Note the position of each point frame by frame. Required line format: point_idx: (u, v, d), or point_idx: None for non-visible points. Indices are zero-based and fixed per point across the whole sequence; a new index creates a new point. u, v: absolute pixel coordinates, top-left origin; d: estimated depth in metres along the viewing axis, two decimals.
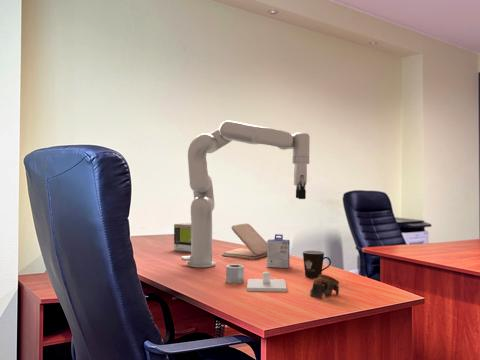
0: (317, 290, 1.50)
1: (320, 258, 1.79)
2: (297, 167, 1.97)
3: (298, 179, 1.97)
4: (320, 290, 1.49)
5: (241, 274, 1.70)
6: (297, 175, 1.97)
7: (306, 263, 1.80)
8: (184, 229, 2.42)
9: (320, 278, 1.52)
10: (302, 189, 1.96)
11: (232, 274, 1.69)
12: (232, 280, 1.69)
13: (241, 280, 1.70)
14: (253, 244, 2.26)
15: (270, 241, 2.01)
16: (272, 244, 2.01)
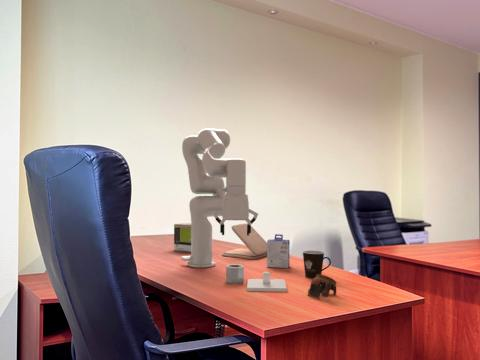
0: (315, 289, 1.50)
1: (320, 258, 1.79)
2: (247, 199, 1.70)
3: (248, 213, 1.70)
4: (318, 290, 1.49)
5: (241, 274, 1.70)
6: (248, 208, 1.70)
7: (306, 263, 1.80)
8: (184, 229, 2.42)
9: (318, 278, 1.52)
10: None
11: (232, 274, 1.69)
12: (232, 280, 1.69)
13: (241, 280, 1.70)
14: (253, 244, 2.26)
15: (270, 241, 2.01)
16: (272, 244, 2.01)
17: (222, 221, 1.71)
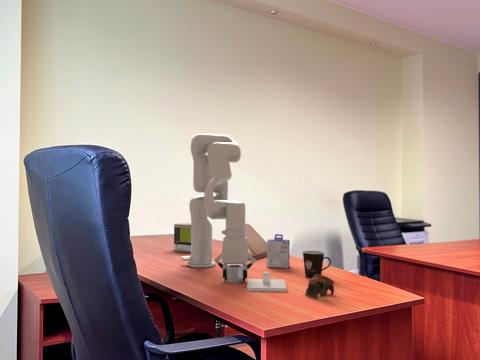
0: (312, 289, 1.50)
1: (320, 258, 1.79)
2: (246, 243, 1.70)
3: (248, 256, 1.71)
4: (315, 290, 1.49)
5: (241, 274, 1.70)
6: (247, 252, 1.70)
7: (306, 263, 1.80)
8: (184, 229, 2.42)
9: (315, 278, 1.52)
10: (247, 269, 1.72)
11: (232, 274, 1.69)
12: (232, 280, 1.69)
13: (241, 280, 1.70)
14: (253, 244, 2.26)
15: (270, 241, 2.01)
16: (272, 244, 2.01)
17: (224, 266, 1.71)
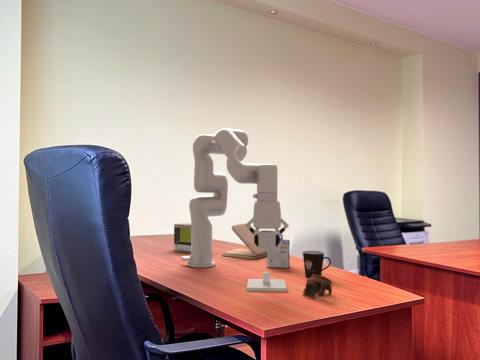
0: (310, 289, 1.50)
1: (320, 258, 1.79)
2: (279, 206, 1.63)
3: (281, 221, 1.63)
4: (313, 290, 1.50)
5: (274, 239, 1.62)
6: (280, 216, 1.62)
7: (306, 263, 1.80)
8: (184, 229, 2.42)
9: (313, 278, 1.52)
10: None
11: (264, 239, 1.61)
12: (264, 245, 1.61)
13: (274, 245, 1.62)
14: (253, 244, 2.26)
15: None
16: None
17: (256, 232, 1.64)
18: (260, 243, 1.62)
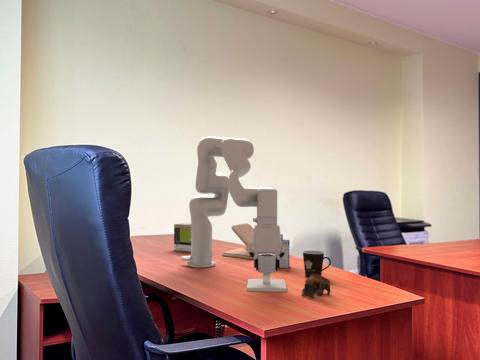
0: (309, 289, 1.50)
1: (320, 258, 1.79)
2: (279, 230, 1.63)
3: (280, 245, 1.63)
4: (312, 290, 1.50)
5: (274, 263, 1.62)
6: (280, 240, 1.62)
7: (306, 263, 1.80)
8: (184, 229, 2.42)
9: (312, 278, 1.52)
10: None
11: (264, 263, 1.61)
12: (264, 270, 1.61)
13: (274, 270, 1.62)
14: None
15: None
16: None
17: (256, 256, 1.64)
18: (260, 267, 1.62)
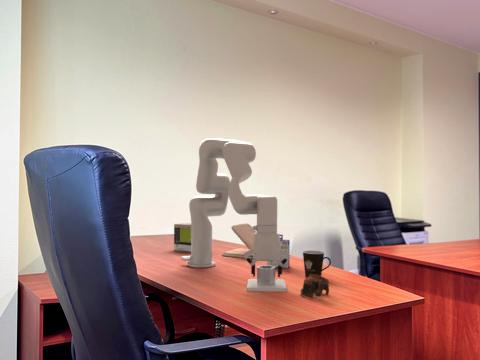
0: (308, 289, 1.50)
1: (320, 258, 1.79)
2: (279, 239, 1.63)
3: (280, 253, 1.63)
4: (311, 290, 1.50)
5: (273, 275, 1.63)
6: (280, 248, 1.63)
7: (306, 263, 1.80)
8: (184, 229, 2.42)
9: (310, 278, 1.52)
10: None
11: (264, 275, 1.62)
12: (264, 282, 1.62)
13: (273, 282, 1.63)
14: None
15: None
16: None
17: (253, 262, 1.64)
18: (259, 279, 1.63)
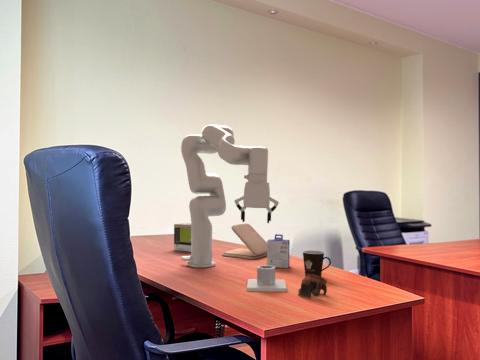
0: (305, 289, 1.50)
1: (320, 258, 1.79)
2: (268, 187, 1.72)
3: (269, 201, 1.73)
4: (308, 290, 1.50)
5: (273, 275, 1.63)
6: (269, 196, 1.72)
7: (306, 263, 1.80)
8: (184, 229, 2.42)
9: (308, 278, 1.52)
10: (271, 212, 1.75)
11: (264, 275, 1.62)
12: (264, 282, 1.62)
13: (273, 282, 1.63)
14: (253, 244, 2.26)
15: (270, 241, 2.01)
16: (272, 244, 2.01)
17: (243, 208, 1.74)
18: (259, 279, 1.63)
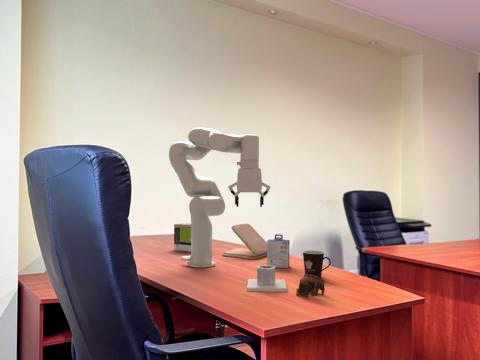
0: (303, 289, 1.50)
1: (320, 258, 1.79)
2: (260, 172, 1.81)
3: (261, 185, 1.81)
4: (306, 290, 1.50)
5: (273, 275, 1.63)
6: (261, 181, 1.81)
7: (306, 263, 1.80)
8: (184, 229, 2.42)
9: (306, 277, 1.53)
10: None
11: (264, 275, 1.62)
12: (264, 282, 1.62)
13: (273, 282, 1.63)
14: (253, 244, 2.26)
15: (270, 241, 2.01)
16: (272, 244, 2.01)
17: (237, 193, 1.82)
18: (259, 279, 1.63)
